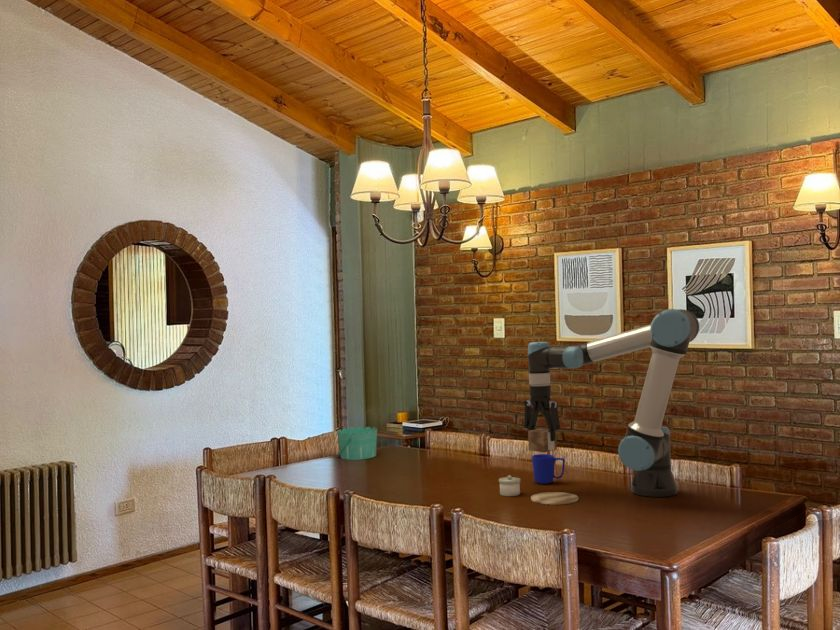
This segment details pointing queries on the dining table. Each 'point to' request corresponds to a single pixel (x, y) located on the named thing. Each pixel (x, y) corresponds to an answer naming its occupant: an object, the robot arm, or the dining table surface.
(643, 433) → the robot arm
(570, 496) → the trivet
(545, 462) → the mug
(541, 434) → the block
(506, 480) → the sugar bowl
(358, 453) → the basket
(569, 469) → the dining table surface
